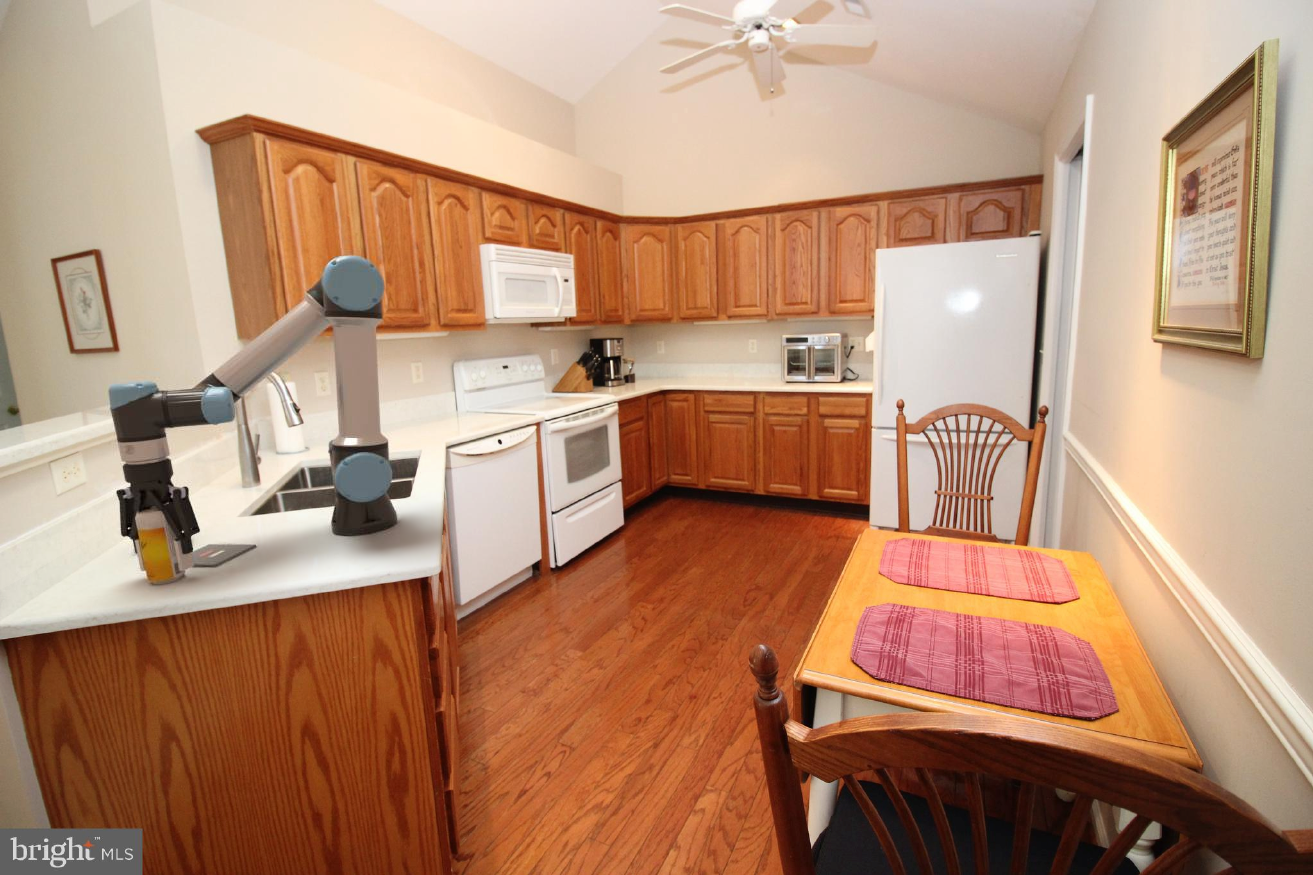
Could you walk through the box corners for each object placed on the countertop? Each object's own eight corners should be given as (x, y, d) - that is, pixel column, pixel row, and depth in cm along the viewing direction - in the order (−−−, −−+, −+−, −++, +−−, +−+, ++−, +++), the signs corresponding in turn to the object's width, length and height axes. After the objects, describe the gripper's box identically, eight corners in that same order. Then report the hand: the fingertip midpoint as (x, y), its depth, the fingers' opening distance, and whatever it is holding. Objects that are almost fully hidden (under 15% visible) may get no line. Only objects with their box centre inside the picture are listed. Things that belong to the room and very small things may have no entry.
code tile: (256, 546, 144) (256, 544, 144) (215, 567, 132) (214, 564, 132) (209, 546, 145) (209, 543, 145) (164, 566, 133) (163, 563, 133)
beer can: (162, 574, 129) (148, 505, 126) (192, 572, 130) (179, 503, 127) (140, 586, 123) (126, 514, 120) (172, 584, 124) (158, 512, 121)
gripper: (80, 465, 120) (104, 575, 124) (177, 463, 117) (198, 576, 122) (117, 456, 127) (138, 561, 131) (209, 455, 125) (228, 561, 129)
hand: (167, 568), depth 126 cm, fingers open, 8 cm apart
